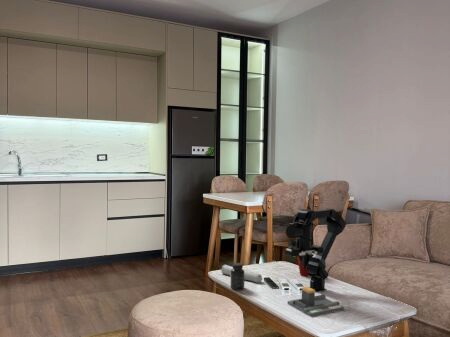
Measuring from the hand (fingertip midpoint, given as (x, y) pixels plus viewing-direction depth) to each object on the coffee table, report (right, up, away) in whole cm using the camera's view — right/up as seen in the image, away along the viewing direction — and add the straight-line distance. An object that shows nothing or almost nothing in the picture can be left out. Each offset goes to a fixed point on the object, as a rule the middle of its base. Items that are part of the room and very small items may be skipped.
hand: (304, 268), depth 195 cm
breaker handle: (-2, -11, -18) cm, 22 cm away
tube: (-28, -11, +24) cm, 39 cm away
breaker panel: (+2, -13, -17) cm, 21 cm away
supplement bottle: (-31, -12, +7) cm, 34 cm away
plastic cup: (+7, -11, +31) cm, 34 cm away
